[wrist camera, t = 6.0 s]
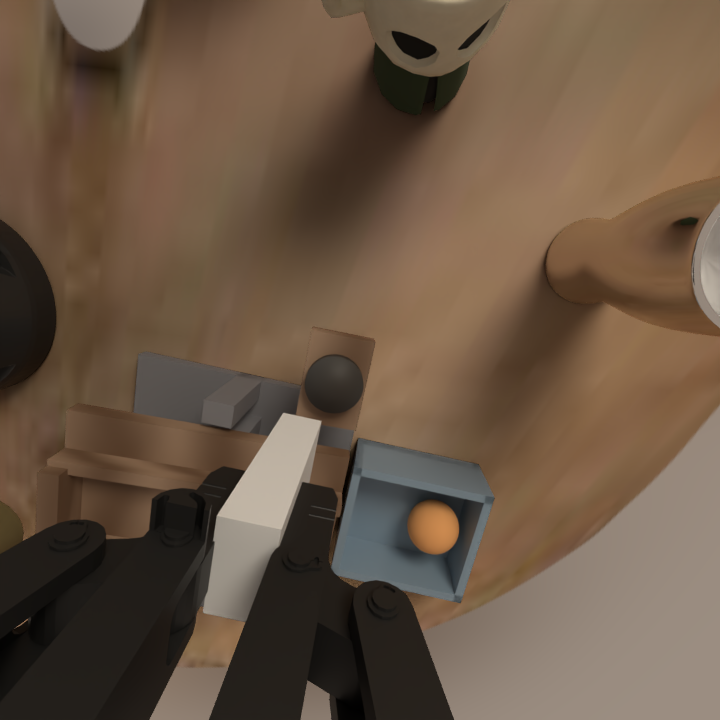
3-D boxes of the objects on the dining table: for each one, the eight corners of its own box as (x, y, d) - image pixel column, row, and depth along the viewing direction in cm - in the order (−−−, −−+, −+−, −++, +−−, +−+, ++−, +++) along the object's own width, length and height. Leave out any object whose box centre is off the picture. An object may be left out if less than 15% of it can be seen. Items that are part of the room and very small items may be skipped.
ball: (435, 529, 35) (394, 532, 33) (447, 488, 34) (405, 489, 32) (461, 564, 31) (416, 569, 30) (475, 519, 30) (430, 522, 29)
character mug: (350, 140, 29) (324, 39, 16) (331, 26, 27) (286, -184, 15) (506, 106, 28) (610, -31, 15) (495, -14, 26) (600, -278, 14)
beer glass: (605, 323, 31) (809, 374, 16) (521, 287, 30) (650, 306, 16) (656, 234, 29) (933, 200, 14) (567, 195, 29) (759, 120, 14)
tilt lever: (87, 539, 31) (33, 598, 26) (103, 279, 26) (42, 284, 21) (319, 572, 33) (314, 634, 27) (371, 333, 28) (378, 350, 23)
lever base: (130, 520, 37) (73, 577, 30) (145, 351, 33) (84, 373, 26) (324, 563, 37) (311, 631, 30) (360, 398, 33) (355, 432, 26)
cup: (337, 532, 36) (329, 573, 31) (358, 437, 34) (354, 466, 29) (450, 557, 36) (460, 603, 31) (478, 464, 34) (494, 497, 29)
